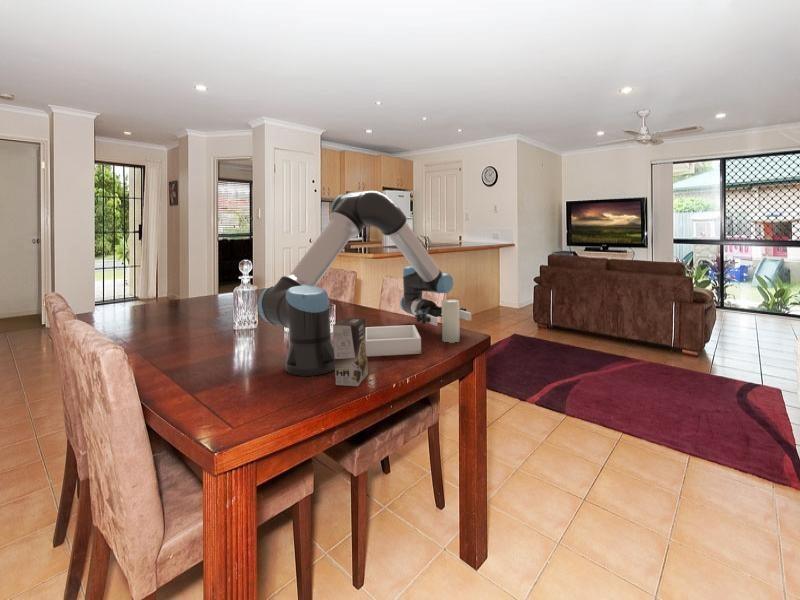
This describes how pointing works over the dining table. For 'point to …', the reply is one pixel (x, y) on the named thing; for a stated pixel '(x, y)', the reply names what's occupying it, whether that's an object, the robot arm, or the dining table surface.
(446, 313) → the canister
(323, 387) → the dining table surface
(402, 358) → the dining table surface
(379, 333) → the tote
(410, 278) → the robot arm
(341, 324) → the coffee box
